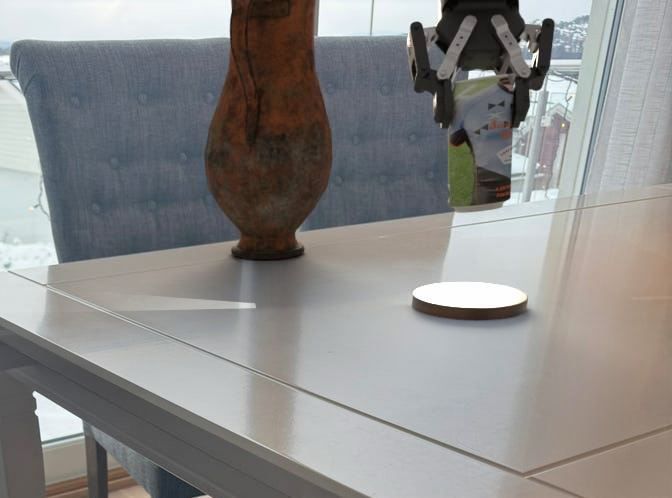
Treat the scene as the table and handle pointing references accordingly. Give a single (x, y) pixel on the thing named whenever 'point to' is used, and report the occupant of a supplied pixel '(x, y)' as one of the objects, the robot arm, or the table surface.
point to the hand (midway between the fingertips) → (481, 121)
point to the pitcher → (269, 128)
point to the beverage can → (480, 144)
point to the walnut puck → (469, 301)
